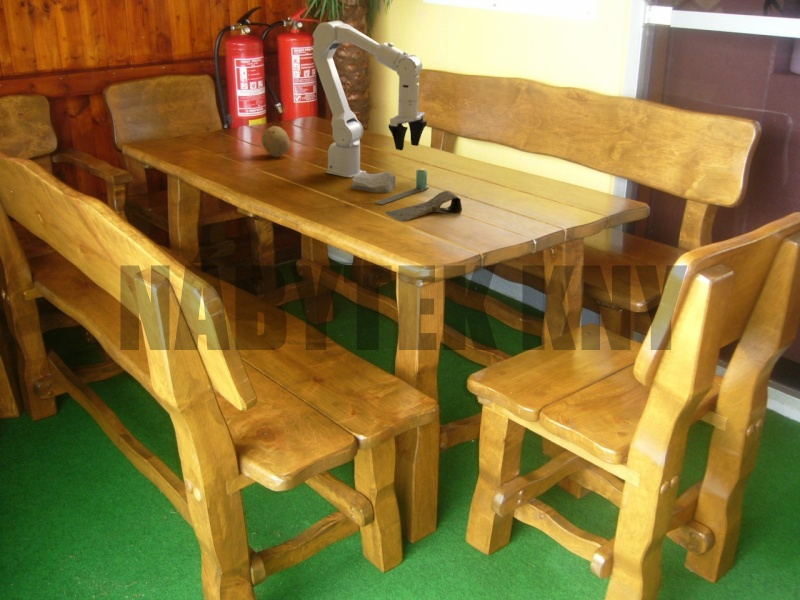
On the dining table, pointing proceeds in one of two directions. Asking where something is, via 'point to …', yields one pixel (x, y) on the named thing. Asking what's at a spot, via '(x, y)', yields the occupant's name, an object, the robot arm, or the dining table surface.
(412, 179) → the dining table surface
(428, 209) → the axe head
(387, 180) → the stone block
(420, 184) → the teal cylinder cream end
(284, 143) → the brown oval lump
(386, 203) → the bar
